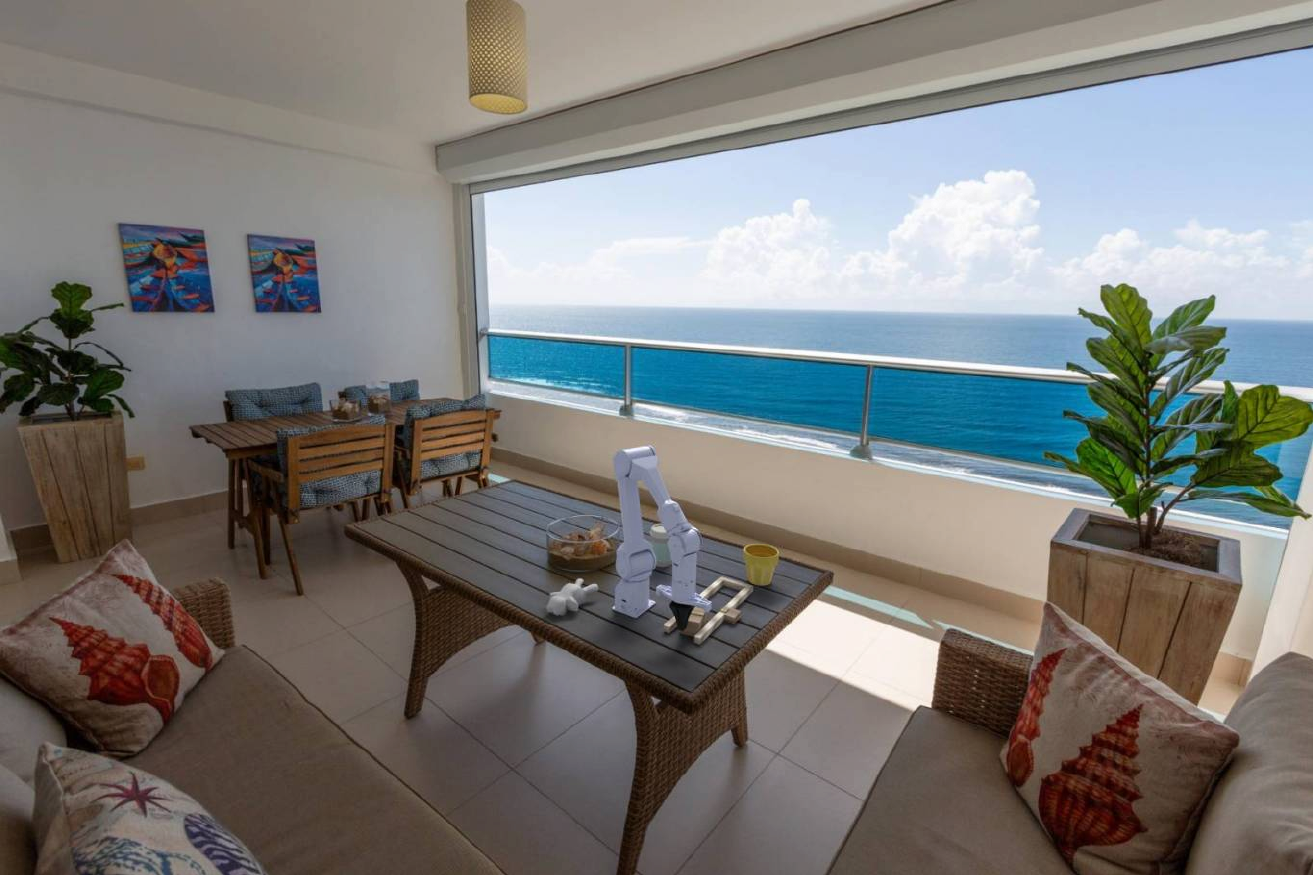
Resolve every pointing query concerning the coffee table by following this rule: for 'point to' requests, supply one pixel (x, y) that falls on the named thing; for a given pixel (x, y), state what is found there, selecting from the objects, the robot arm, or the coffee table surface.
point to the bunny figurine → (569, 597)
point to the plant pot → (760, 563)
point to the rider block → (695, 622)
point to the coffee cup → (660, 545)
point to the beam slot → (726, 612)
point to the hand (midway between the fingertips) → (682, 628)
